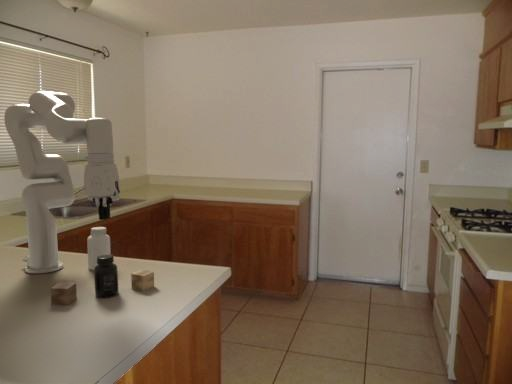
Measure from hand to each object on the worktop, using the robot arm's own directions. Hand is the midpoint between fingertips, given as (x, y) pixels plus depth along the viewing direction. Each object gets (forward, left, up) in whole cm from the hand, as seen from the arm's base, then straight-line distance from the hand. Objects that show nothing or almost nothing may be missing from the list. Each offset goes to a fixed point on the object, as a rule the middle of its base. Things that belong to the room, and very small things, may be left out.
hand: (104, 219), depth 128 cm
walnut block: (-6, -11, -23) cm, 27 cm away
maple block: (+9, +7, -23) cm, 26 cm away
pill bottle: (-18, +20, -23) cm, 36 cm away
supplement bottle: (+2, -2, -23) cm, 23 cm away
